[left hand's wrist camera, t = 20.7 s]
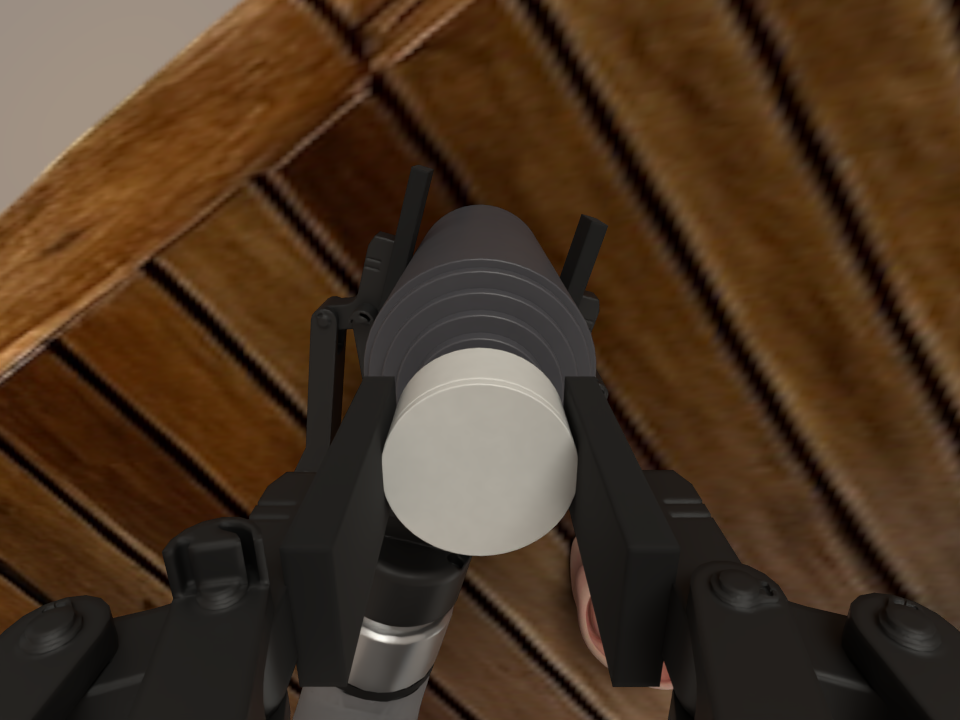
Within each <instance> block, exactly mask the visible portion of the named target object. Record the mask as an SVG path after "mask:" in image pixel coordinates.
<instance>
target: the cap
mask: <svg viewBox="0 0 960 720" xmlns="http://www.w3.org/2000/svg"><path fill="white" fill-rule="evenodd" d="M577 465H578V454H577V449H576V446H575V443H574V440H573V437H572V434H571V430H570V427H569V424H568V421H567V418H566V415H565V412H564V408H563V405H562V402H561V399H560V397H559V395H558V393H557V391H556V389H555V387H554V386H553V384H552V383H551V382H550V380H549V379H548V378H547V377H546V376H545V375H544V373H543V372H542V371H540V370H539V369H538V368H537V367H536V366H534V365H533V364H532V363H530V362H528V361H527V360H525V359H523V358H521V357H519V356H517V355H515V354H512V353H509V352H506V351H502V350H497V349H491V348H469V349H463V350H458V351H454V352H451V353H448V354H445V355H443V356H441V357H439V358H437V359H435V360H433V361H431V362H430V363H428V364H427V365H425V366H424V367H423V368H422V369H421V370H419V371H418V372H417V373H416V374H415V375H414V376H413V378H412V379H411V380H410V381H409V382H408V384H407V385H406V387H405V389H404V390H403V392H402V394H401V396H400V399H399V401H398V404H397V408H396V411H395V414H394V417H393V420H392V423H391V426H390V429H389V433H388V436H387V439H386V442H385V445H384V449H383V452H382V470H383V484H384V493H385V496H386V499H387V501H388V503H389V505H390V507H391V509H392V510H393V512H394V513H395V515H396V516H397V518H398V519H399V520H400V521H401V522H402V524H403V525H404V526H405V527H406V528H407V529H409V530H410V531H411V532H412V533H413V534H414V535H416V536H417V537H419V538H420V539H422V540H423V541H425V542H427V543H429V544H431V545H433V546H435V547H437V548H440V549H443V550H445V551H449V552H453V553H457V554H463V555H471V556H488V555H497V554H503V553H507V552H511V551H514V550H517V549H520V548H522V547H525V546H527V545H529V544H531V543H533V542H535V541H536V540H538V539H540V538H541V537H542V536H544V535H545V534H547V533H548V532H549V531H550V530H551V529H552V528H553V527H554V526H555V525H556V524H557V523H558V522H559V521H560V520H561V518H562V517H563V516H564V515H565V513H566V511H567V510H568V508H569V507H570V505H571V502H572V500H573V498H574V496H575V492H576V479H577Z"/></svg>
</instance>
